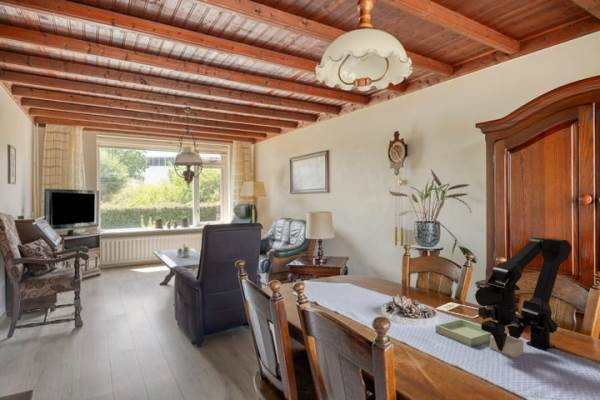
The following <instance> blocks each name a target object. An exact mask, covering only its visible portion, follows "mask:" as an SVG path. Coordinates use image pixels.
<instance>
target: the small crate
mask: <svg viewBox="0 0 600 400" xmlns="http://www.w3.org/2000/svg"><path fill="white" fill-rule="evenodd" d="M524 347H525V346H524V340H522V339H520V338H519V339H517V338H514V337H511V336H509V334H507V338H506V341H505V344H504V347H503V350H502V351H500V350H498V347H497V345H496V342H495V340H494V337H493V335H492V336H490V341H489V349H490V350H492V351H493V352H497V353H498V354H502V355H505V356H507V357H510V358H512V359H514V358H517V357H519V356H521V355H524Z"/></svg>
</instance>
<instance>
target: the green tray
mask: <svg viewBox="0 0 600 400" xmlns="http://www.w3.org/2000/svg"><path fill="white" fill-rule="evenodd" d="M435 334H438V335H441V336H443V337H446V338H449V339H451V340H453V341H455V342H457V341H458V343H460V344H462V343H463V345H466V346H467V345H468V347H470V348H472V347H477V346H480V345H481V344H485V343H487V342H488V343H490V336H492V334H491V333H489V332H487V331H484V330H482V329H481V324H477V323H474V322H471V321H468V320H466V319H462V318H459V319H458V318H457V319H454V320H449V321H447V322H446V321H445V322H442V323H438V324H435Z"/></svg>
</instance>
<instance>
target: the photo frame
mask: <svg viewBox="0 0 600 400" xmlns="http://www.w3.org/2000/svg"><path fill="white" fill-rule="evenodd" d="M459 307H463V308H469V309H473V310H477V311H478V310H479V308H480V307H473V306H468V305H465V304H460V303H456V302H451V301H450V302H448V303H445V304H443V305H440V306H437V307H436V308H434V310H437V311H441V312H445V313H449V314H453V315H457V316H461V317H464V318H469V319H473V320H474V319H476V318H478V317H480V316H479V315H478V314H477V315H474V316H470V315H466V314H462V313H457V312H453V311H452V310H454V309H457V308H459Z"/></svg>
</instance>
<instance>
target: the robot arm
mask: <svg viewBox="0 0 600 400" xmlns="http://www.w3.org/2000/svg"><path fill="white" fill-rule="evenodd" d="M572 249H573V248H572V245H571V243H570V242H569V240H567V239H561V238H560V239H559V238H549V237H548V238H547V237H546V238H545V237H536V236H534V237H531V238H529V241H528V242H527V243H526V244H524V246H523V247H522V248H520V249H519V250H518V251H517V252H516V253H515V254H514V255H513V256H512V257H511V258H510V259H508V260H506V261H502V262H500V263H498V264H496V266H494V267H493V268H492V270H491V273H490V275H489V277H488V278H487V279H486V282H485V285H483V284H481V285H479V288H478V289H476V291H475V294H474V298H475V301H476V303H477V304H478V305H479V306H481V307H478V308H479V310H477V315H479V316H478V317H480V318H481V319H482V320H485V321H483V322H482V323H481V324H480V325H481V329H482V330H484V331H487V332H489V333H491V334H492V335H493V337H494V340H495V342H496V345H497V347H498V350H500V351H502V350H503V347H504V344H505V341H506V338H507V335H508V336H511V337H514V338H517V339H520V337H521V335H522V334H523V333H524V331H525V330H526V328H527V327H529V328H530V340H529V341H526V342H525V343H526V345H529V346H531V347H535V348H537V349H541V350H543V351H547V350H549V349H552V348H555V347H556V345H555V344H553V343H551V334H554V333H555V332H557V330H558V324H557V323H556V322H555V321H554V319H552V309H551V306H550V300H551V296H552V293H553V291H554V286H555V284H556V279H557V276H558V273H559V269H560V266H561V264H563V263H564V262H565V261H567V260H568V258H569V256H570V254H571V252H572ZM539 255H541V257H542V260H543V262H542V263H541V264H542V265H541V268H540V271H539V274H538V278H537V280H536V285H535V288H534V291H533V294H532V297H531V298H530V299H525V300H523V303H522V307H521V309H520V311H521V314H520V313H519V314H520V315H519V314H516V313H515V312H518V311H519V307H518V306H516V291H520V290H521V287H520V286H518V285H517V283H518V281H520V279H521V278H522V276H523V270H524V269H525V268H526V267H527V266H528V265H530V264H531V263H532V261H534V260H535V259H536V258H537V257H538V256H539ZM490 306H492V307H490ZM486 319H489V320H486ZM521 323H523V325H524V326H522V324H521ZM506 328H507V330H508V332H506Z"/></svg>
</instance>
